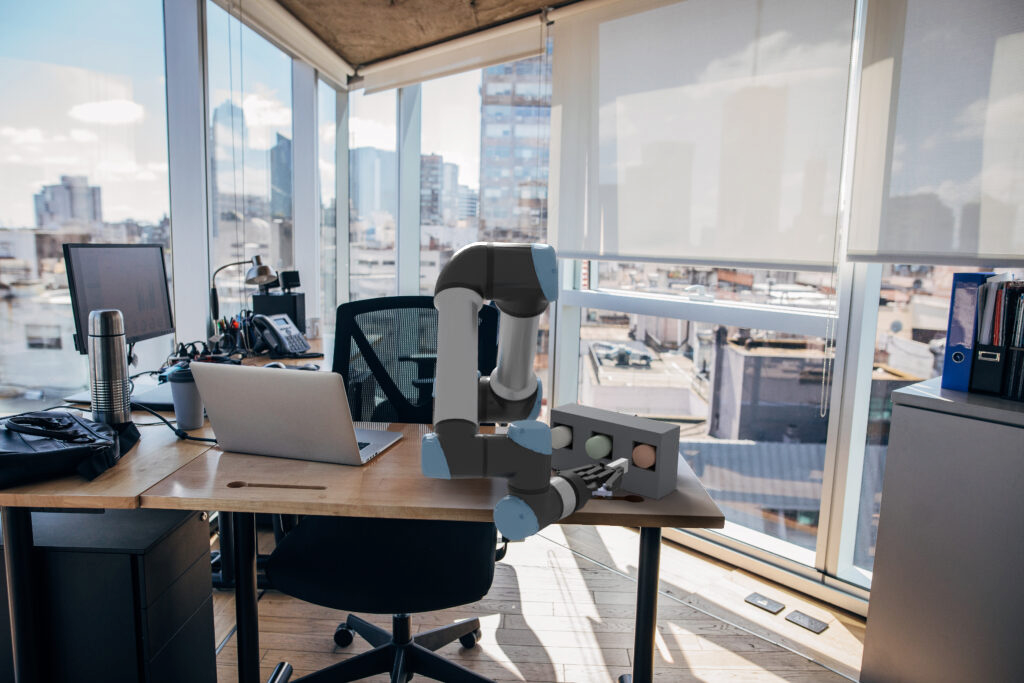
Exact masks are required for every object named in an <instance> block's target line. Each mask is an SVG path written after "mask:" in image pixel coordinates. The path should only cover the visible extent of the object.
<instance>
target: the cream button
mask: <svg viewBox="0 0 1024 683" xmlns="http://www.w3.org/2000/svg"><path fill="white" fill-rule="evenodd" d="M551 435H552V447H553V448H555V449H559V448H562V447H565V446H567V445H570V444H571V443H572V442H573V431H572V429H571V428H570V427H569V426H567V425H562V426H559V427H556V428H553V429H551Z"/></svg>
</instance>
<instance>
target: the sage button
mask: <svg viewBox="0 0 1024 683" xmlns="http://www.w3.org/2000/svg"><path fill="white" fill-rule="evenodd" d="M585 448H586V452H587V454H588V455H589V456H590V457H591V458H593V459H600V458H602V457H604V456H607V455H609V454H610V453H611V452H612V450H613V443H612V440H611V439H610V437H608V436H607V435H605V434H600V435H598V436H595V437H592V438H590V439H588V440H587V442H586V445H585Z"/></svg>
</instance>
